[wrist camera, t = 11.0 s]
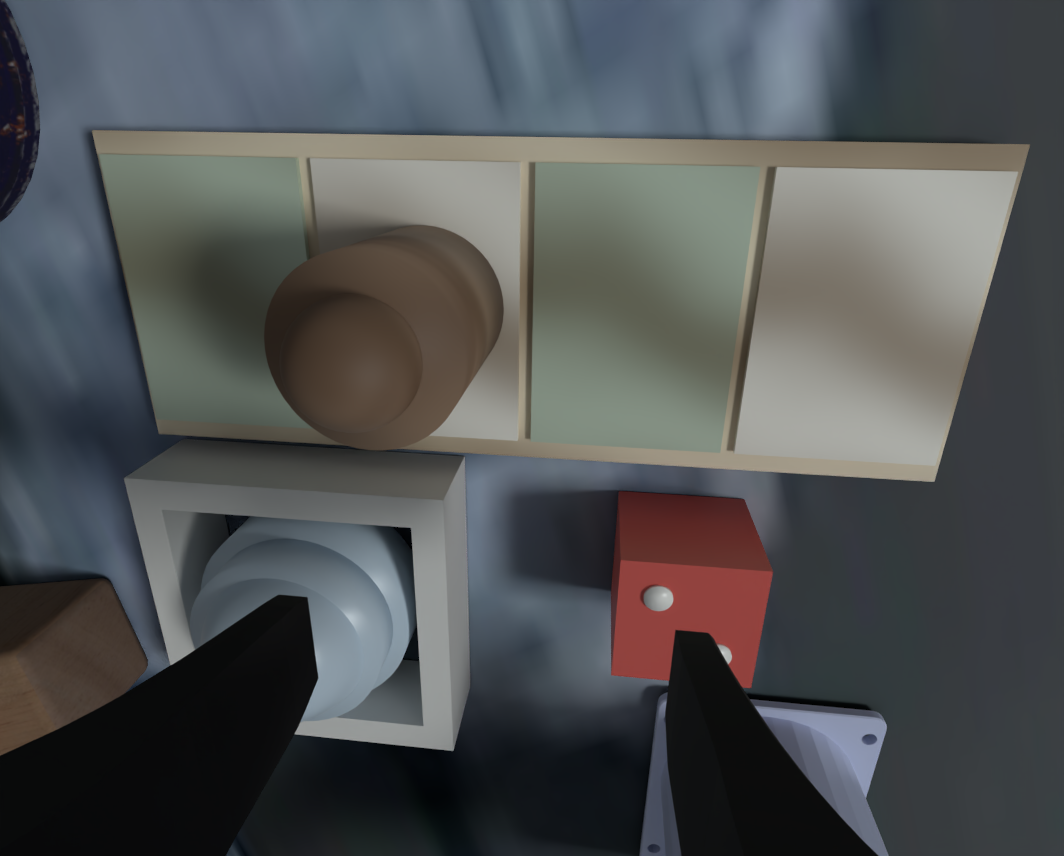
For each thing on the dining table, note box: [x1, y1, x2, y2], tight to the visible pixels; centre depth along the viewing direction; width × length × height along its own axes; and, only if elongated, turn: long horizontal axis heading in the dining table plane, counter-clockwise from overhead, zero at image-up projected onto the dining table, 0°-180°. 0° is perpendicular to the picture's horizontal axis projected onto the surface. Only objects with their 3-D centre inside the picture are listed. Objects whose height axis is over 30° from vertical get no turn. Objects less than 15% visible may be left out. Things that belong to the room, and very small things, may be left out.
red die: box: [611, 491, 773, 688], centre depth 20 cm, size 4×4×4 cm
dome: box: [190, 516, 417, 722], centre depth 21 cm, size 7×7×5 cm
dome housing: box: [124, 439, 470, 751], centre depth 22 cm, size 10×10×3 cm
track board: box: [92, 130, 1030, 482], centre depth 19 cm, size 9×24×1 cm, turn 89°
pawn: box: [264, 225, 504, 450], centre depth 15 cm, size 4×4×7 cm
